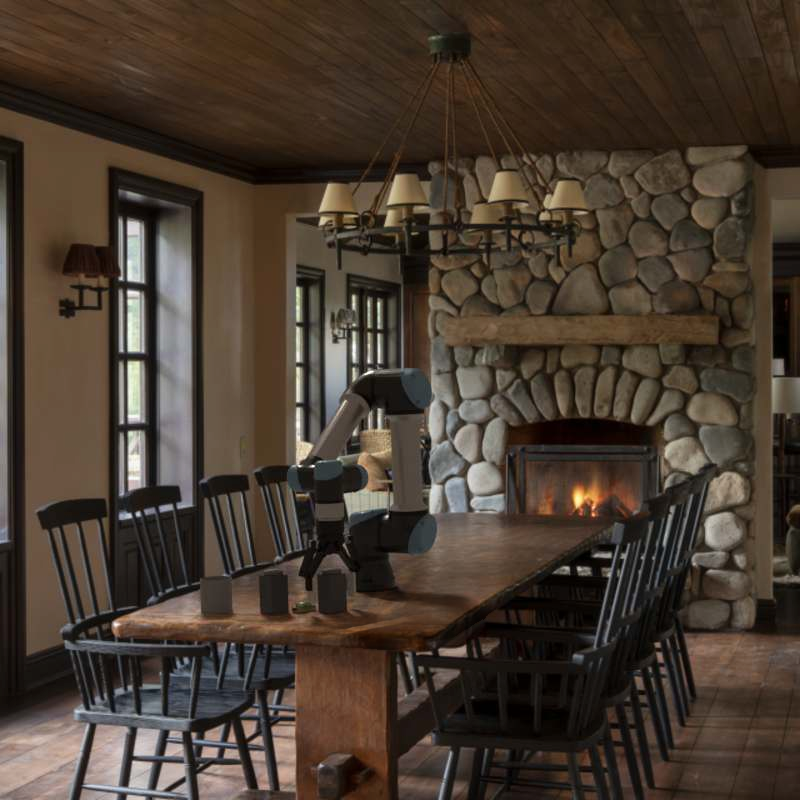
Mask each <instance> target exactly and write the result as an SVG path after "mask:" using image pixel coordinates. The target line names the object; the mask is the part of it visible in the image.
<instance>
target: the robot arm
mask: <svg viewBox="0 0 800 800" xmlns="http://www.w3.org/2000/svg"><path fill="white" fill-rule="evenodd" d="M431 385H432V384H431V382H430V379H429V378H428V376H427V374H426V373H425V372H424V371H423V370H421V369H420V368H413V367H412V368H410V367H405V368H404V367H402V368H376V369H371V370H367V371H366V372H364V373H363V374H361V375H360V376H358V377H356V379H354V380H353V381H352V382H351V383H350V384H349V385H348V386H347V387H346V388H345V390H344V391H343V392H342V394H341V395H340V397H339V400H338V403H339V405H338V407H337V408H336V409H335V411H334V413H333V415H332V416H331V418H330V420H329V421H328V423H327V424H326V426H325V427H324V429H323V430H322V432H321V433H320V435H319V437H318V439H317V440H316V442H314V445H313V446H312V448H311V450H310V451H309V453H308V454H307V456H306V458H305V459H304V460H303V463H298V464H293V465H291V466H290V467H289V468H288V470H287V472H286V482H287V485H288V487H289V489H290V490H292V491H293V492H299V493H314V498H315V501H314V502H315V503H314V505H315V507H314V508H315V509H314V510H315V518H316V519H317V520H315V534H316V536H317V537H316V538H317V539H315V540H314V539H307V541H306V549H305V552H304V554H303V559H302V562H301V565H300V568H299V572H298V573H297V574H298V577H300V578H301V577H302V578H304V582H305V583H304V584H305V586H304V588H305V592H307V602H308V603H312V604H313V605H316V604H317V605H318V601H317V580H316V579H317V578H315V574H316V573H317V571H318V569H319V568H320V566H321V564H322V562H323V560H324V559H325V558H326V557H327V556H331V555H338V557H339V558H340V559H341V560H342V562H343V563H344V564H345V566H346V567H347V568H348V569H347V572H346V588H347V596H348V597H349V598H350V597H352V598H356V597H357V592H377V591H378V592H379V591H386V590H391V589H394V588H396V587H397V581H396V576H395V574H394V570H393V567H392V564H391V562H390V554H402V555H403V554H404V555H411V556H414V555H425V554H427V553H428V552H429V551H431V550H432V547H433V546H434V544H435V542H436V539H437V533H438V522H437V520H436V518H435V516H434V515H433V514H430V513H429V506H428V505H427V504H426V503H425V502H424V496H423V495H424V494H423V475H422V473H423V471H422V450H421V449H422V448H421V447H422V444H421V424H420V423H421V421H420V420H421V418H422V417H423V416H424V415H425V409H427V408H429V406H430V404H431V400H432V399H433V398H432V396H433V392H432V391H433V390H432V386H431ZM378 409H382V410H384V416H385V417H386V418H387V419H388V420H389V427H390V428H389V429H390V446H391V447H390V448H391V449H390V450H391V451H390V452H391V453H390V454H391V473H392V477H391V478H392V497H393V498H392V501H393V503H391V505H390V506H389V507H388V508H387V507H380V508H374V509H373V508H372V509H366V510H360V511H355V512H352V513H351V514H350V515H349V517H348V518H349V519H348V528H347V529H348V534H345V535H344V533H345V520H344V518H345V507H344V506H345V503H344V495H345V494H352V493H358V492H360V491H363V490H364V489H366V487H367V485H368V483H369V479H370V478H369V472H368V471H367V469H366V468H365V467H364V466H363V465H361V464H358V463H356V464H354V463H350V464H343V462H342V461H341V460H339V459H338V458H339V457H340V455H341V454H342V451H343V450H344V448H345V446H346V445H347V443H348V442H349V440H350V438H351V436H352V435H353V434H354V432H355V430H356V429H357V427H358V426H359V424H360V422H361V421H362V420H363V419H365V418H367V417H368V415H369V414H370V412H372V411H374V410H378ZM344 544H345V547H344Z"/></svg>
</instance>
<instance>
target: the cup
mask: <svg viewBox="0 0 800 800" xmlns="http://www.w3.org/2000/svg"><path fill="white" fill-rule="evenodd" d="M232 581H233V580H232V576H229V575H212V576H205V577H201V578H199V587H200V588H199V590H200V591H199V592H200V613H202V614H208V615H218V614H225V613H226V614H227V613H230V612H232V611H234V610H233V609H234V607H233V587H232V586H233V584H232V583H233V582H232Z"/></svg>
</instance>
